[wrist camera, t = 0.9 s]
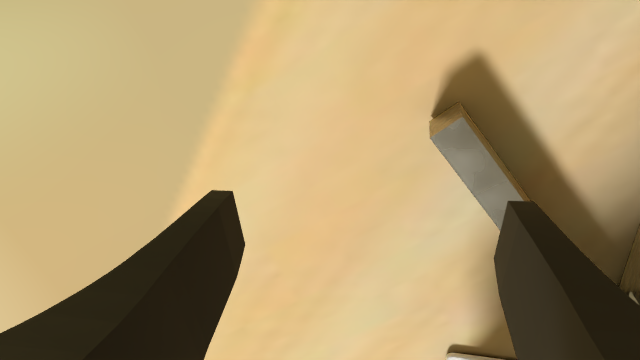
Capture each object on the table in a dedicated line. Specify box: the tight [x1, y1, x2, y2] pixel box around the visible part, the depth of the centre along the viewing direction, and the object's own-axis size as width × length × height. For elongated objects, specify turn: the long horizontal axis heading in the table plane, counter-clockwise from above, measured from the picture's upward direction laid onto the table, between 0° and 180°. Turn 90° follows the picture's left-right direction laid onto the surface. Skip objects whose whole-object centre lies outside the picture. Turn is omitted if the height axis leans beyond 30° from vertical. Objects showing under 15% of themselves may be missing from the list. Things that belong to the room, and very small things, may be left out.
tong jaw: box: [429, 102, 530, 231], centre depth 24 cm, size 17×3×3 cm, turn 40°
